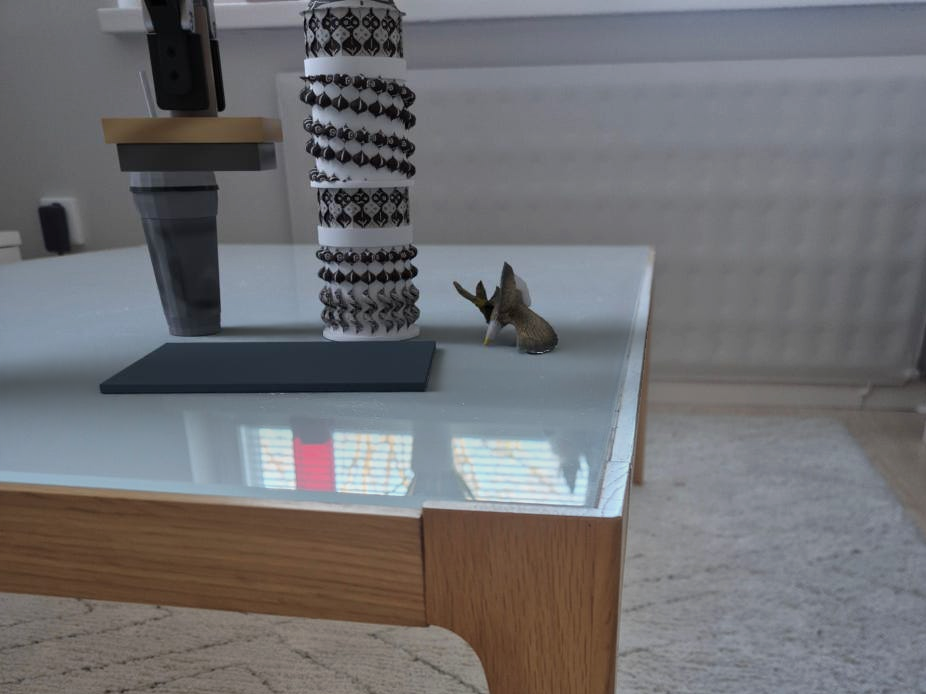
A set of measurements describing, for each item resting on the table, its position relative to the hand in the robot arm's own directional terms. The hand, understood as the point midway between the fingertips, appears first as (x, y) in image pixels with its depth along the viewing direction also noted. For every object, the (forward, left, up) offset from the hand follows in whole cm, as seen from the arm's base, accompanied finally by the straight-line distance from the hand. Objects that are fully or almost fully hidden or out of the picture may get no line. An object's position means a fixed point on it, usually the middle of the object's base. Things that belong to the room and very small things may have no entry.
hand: (192, 107), depth 60 cm
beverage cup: (-7, +18, -17) cm, 26 cm away
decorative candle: (+9, +16, -17) cm, 25 cm away
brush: (0, 0, -4) cm, 4 cm away
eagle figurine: (+21, +11, -17) cm, 29 cm away
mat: (+4, +2, -17) cm, 17 cm away
